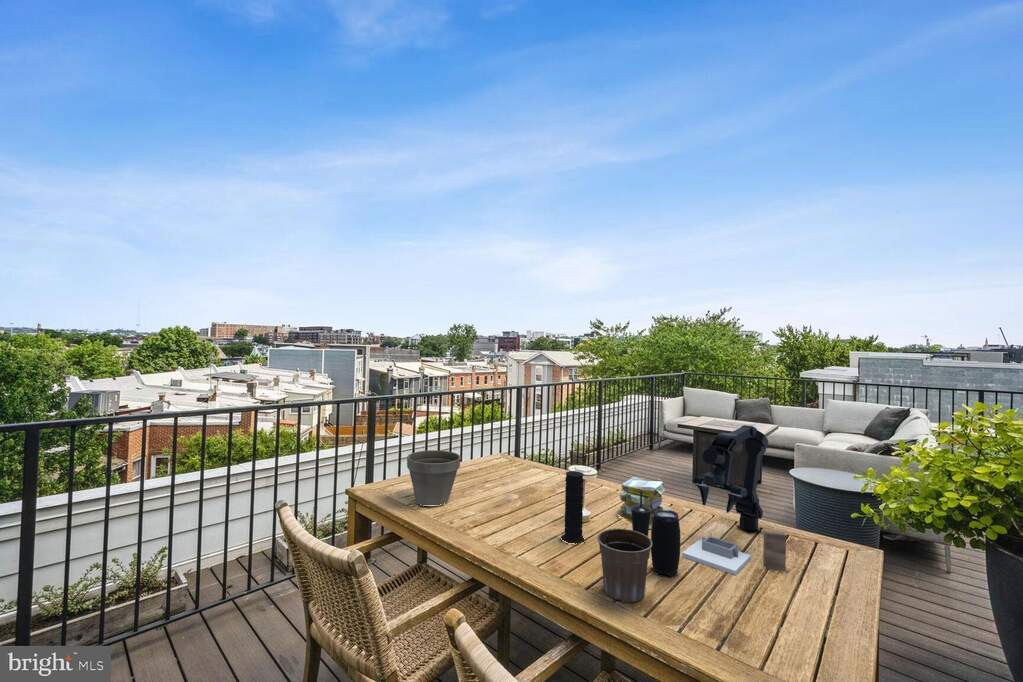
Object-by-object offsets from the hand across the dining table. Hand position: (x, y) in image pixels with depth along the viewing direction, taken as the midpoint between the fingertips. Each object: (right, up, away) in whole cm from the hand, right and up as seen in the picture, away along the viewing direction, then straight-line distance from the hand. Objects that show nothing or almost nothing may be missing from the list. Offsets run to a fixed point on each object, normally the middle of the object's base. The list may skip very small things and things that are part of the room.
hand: (715, 508), depth 171 cm
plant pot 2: (-43, -13, -33) cm, 56 cm away
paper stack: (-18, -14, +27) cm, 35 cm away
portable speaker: (-26, -14, -20) cm, 35 cm away
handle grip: (-53, -13, +4) cm, 55 cm away
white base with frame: (-4, -14, -10) cm, 17 cm away
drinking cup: (-28, -14, 0) cm, 31 cm away
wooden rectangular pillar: (+13, -14, -16) cm, 25 cm away
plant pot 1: (-114, -12, +42) cm, 122 cm away
